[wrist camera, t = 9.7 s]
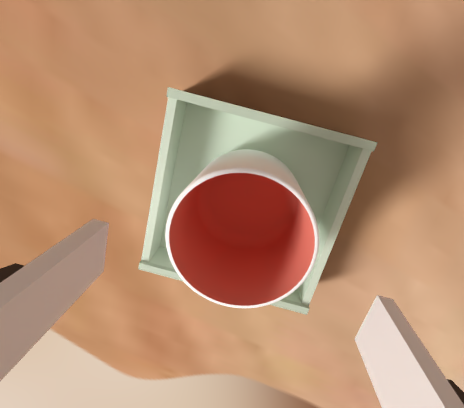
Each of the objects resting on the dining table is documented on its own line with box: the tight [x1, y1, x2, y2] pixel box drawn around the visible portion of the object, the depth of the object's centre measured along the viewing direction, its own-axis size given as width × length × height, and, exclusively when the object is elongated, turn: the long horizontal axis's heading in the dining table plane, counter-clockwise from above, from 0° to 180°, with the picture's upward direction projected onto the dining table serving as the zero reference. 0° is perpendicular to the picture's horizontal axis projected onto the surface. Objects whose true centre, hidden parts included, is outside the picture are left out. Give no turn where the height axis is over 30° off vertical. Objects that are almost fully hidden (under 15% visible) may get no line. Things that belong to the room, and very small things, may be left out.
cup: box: [165, 149, 319, 308], centre depth 23 cm, size 10×10×10 cm
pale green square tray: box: [138, 87, 377, 315], centre depth 27 cm, size 16×16×4 cm
